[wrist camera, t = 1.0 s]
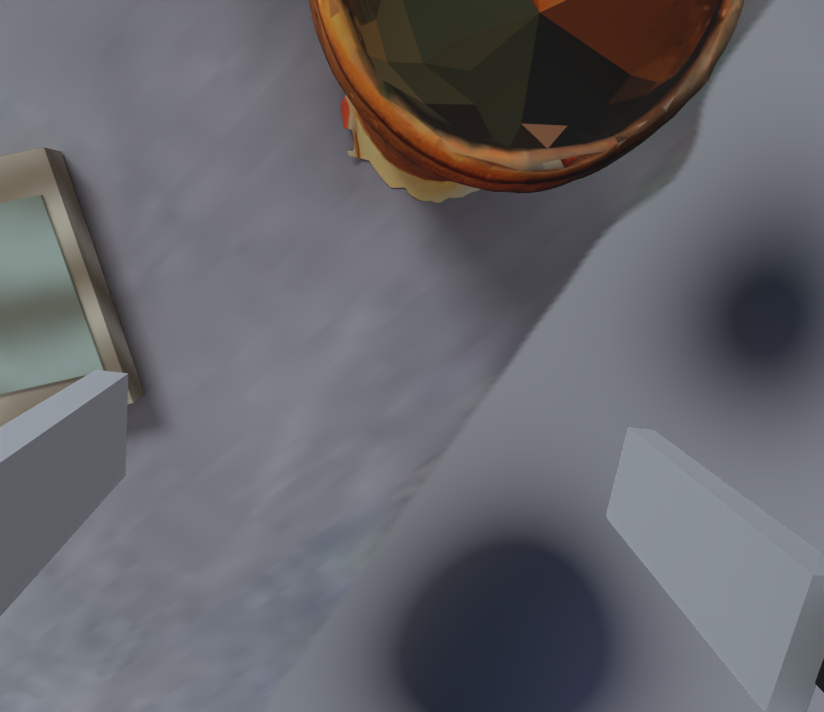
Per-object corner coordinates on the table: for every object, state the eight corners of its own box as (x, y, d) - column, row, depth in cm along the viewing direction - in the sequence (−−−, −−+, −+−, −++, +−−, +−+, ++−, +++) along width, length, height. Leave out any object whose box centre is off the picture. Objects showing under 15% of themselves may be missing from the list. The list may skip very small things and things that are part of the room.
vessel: (300, -23, 34) (245, -342, 15) (531, -53, 35) (763, -389, 16) (346, 222, 38) (349, 223, 18) (554, 187, 39) (766, 154, 19)
